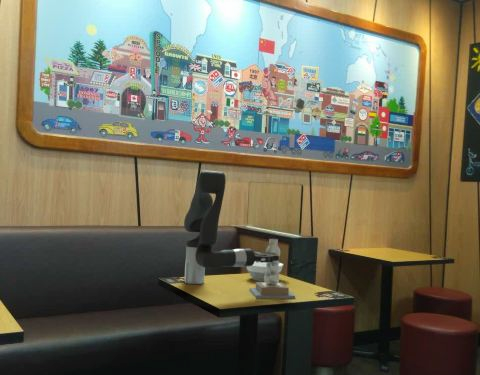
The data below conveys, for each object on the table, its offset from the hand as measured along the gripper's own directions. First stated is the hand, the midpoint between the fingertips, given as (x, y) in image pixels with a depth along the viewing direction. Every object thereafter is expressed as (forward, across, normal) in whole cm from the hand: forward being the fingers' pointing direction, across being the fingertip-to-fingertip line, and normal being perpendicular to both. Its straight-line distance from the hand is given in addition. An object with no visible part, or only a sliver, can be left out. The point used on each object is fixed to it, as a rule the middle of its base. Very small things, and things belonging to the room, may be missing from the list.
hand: (273, 256), depth 224 cm
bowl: (+16, +31, +17) cm, 39 cm away
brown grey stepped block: (0, 0, +17) cm, 17 cm away
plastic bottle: (0, 0, +13) cm, 13 cm away
